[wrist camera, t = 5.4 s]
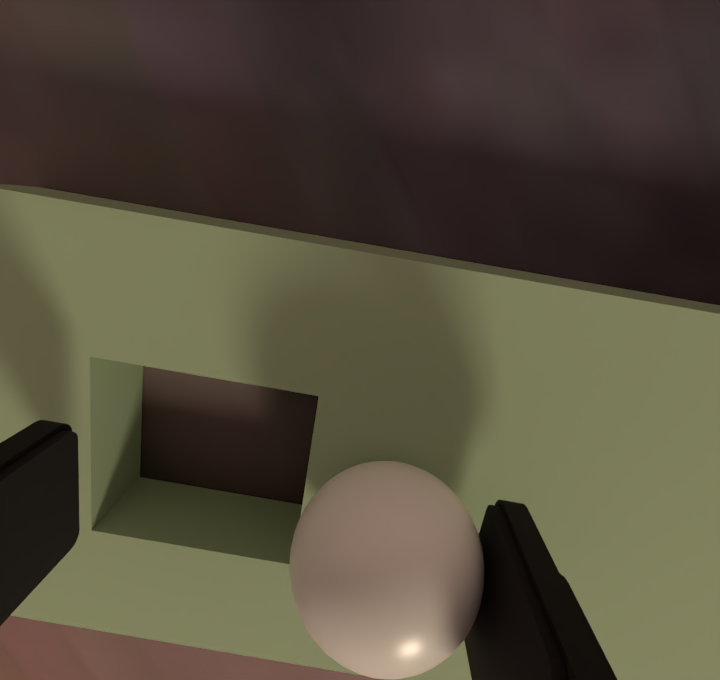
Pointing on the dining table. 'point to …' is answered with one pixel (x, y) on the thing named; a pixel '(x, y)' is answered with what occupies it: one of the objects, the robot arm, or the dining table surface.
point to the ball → (387, 570)
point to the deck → (361, 419)
